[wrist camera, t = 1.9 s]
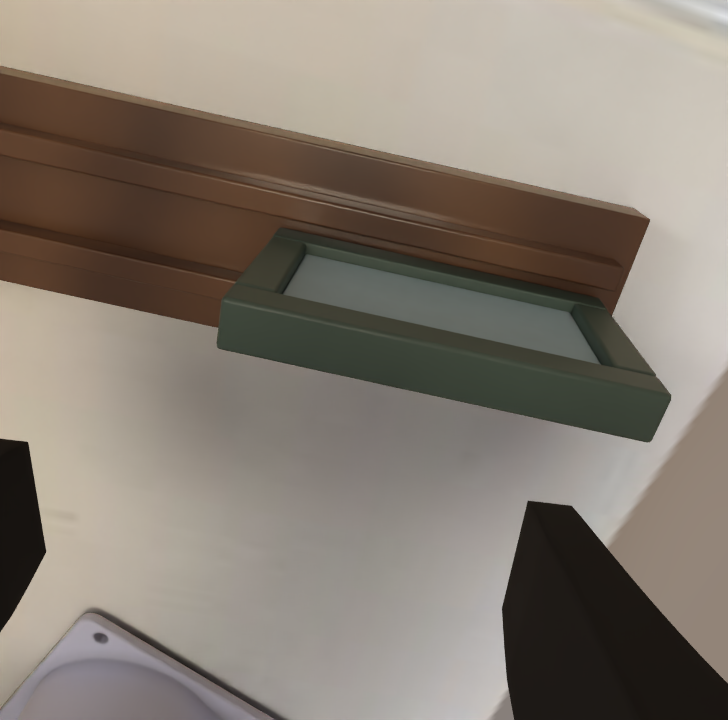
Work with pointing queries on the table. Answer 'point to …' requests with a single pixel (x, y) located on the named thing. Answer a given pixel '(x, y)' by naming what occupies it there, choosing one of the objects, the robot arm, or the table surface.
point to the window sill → (257, 204)
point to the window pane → (441, 333)
